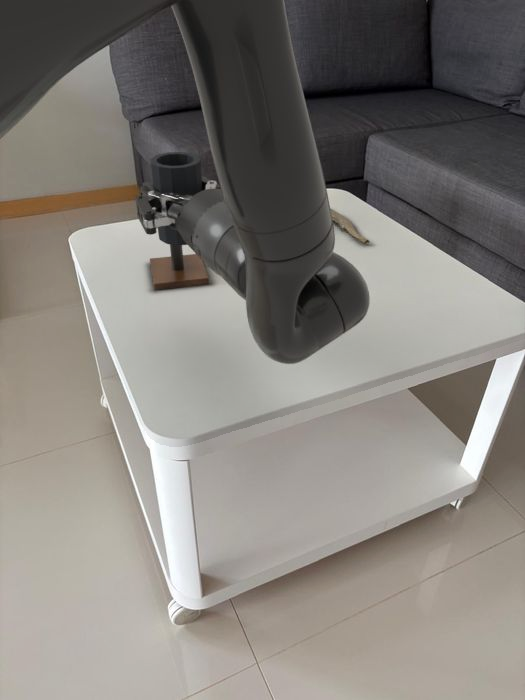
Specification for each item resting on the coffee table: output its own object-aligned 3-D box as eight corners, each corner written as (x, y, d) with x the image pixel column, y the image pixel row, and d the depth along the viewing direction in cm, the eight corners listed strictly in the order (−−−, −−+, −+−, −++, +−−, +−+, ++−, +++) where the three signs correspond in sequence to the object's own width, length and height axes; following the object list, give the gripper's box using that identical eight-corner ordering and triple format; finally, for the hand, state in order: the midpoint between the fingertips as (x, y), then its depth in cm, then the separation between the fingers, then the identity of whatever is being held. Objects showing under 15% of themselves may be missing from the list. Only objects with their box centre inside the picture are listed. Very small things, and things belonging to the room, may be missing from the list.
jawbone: (310, 206, 119) (311, 197, 118) (390, 235, 109) (393, 225, 108) (284, 215, 114) (285, 205, 112) (366, 247, 103) (368, 237, 102)
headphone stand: (154, 290, 90) (146, 220, 82) (150, 264, 97) (141, 198, 89) (208, 284, 91) (204, 215, 84) (200, 259, 98) (196, 194, 91)
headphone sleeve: (160, 247, 69) (152, 169, 63) (157, 227, 74) (148, 153, 68) (207, 243, 70) (203, 166, 64) (200, 224, 75) (196, 150, 69)
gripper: (285, 190, 59) (220, 148, 71) (159, 214, 54) (111, 164, 65) (283, 252, 64) (222, 203, 75) (166, 281, 58) (120, 223, 70)
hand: (171, 185), depth 70 cm, fingers closed on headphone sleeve, 6 cm apart
